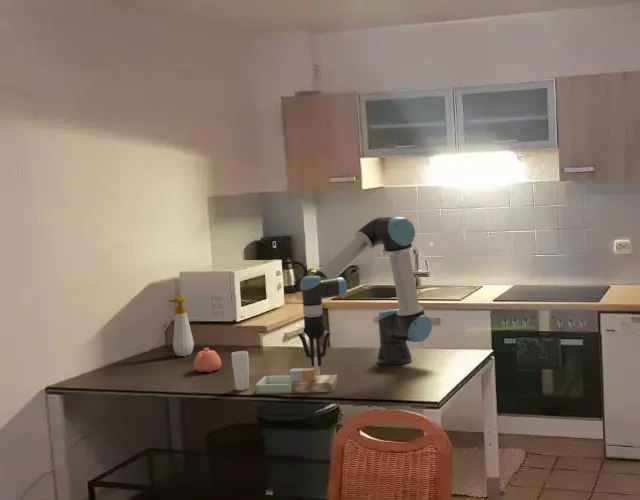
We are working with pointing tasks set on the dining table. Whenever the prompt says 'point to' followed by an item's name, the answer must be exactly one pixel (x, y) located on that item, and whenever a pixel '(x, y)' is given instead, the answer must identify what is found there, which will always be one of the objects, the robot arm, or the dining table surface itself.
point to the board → (316, 384)
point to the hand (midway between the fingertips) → (317, 374)
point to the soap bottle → (182, 330)
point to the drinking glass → (241, 369)
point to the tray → (274, 385)
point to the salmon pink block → (308, 374)
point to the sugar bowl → (207, 361)
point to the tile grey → (296, 374)
